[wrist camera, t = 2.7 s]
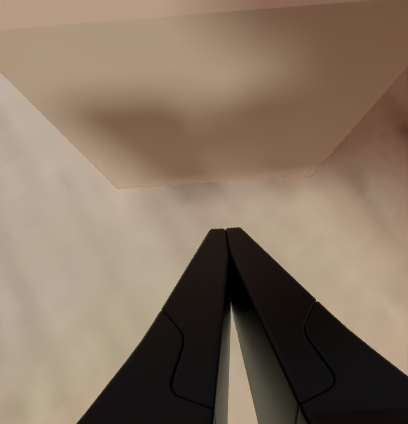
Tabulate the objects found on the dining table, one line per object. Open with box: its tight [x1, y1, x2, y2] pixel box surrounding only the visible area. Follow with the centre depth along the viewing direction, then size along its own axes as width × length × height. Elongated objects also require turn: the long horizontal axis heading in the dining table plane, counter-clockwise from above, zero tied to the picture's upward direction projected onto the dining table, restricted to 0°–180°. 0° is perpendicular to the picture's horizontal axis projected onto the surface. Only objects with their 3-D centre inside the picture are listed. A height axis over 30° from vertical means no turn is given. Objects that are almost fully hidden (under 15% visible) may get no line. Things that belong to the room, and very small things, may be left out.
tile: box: [0, 0, 408, 189], centre depth 13 cm, size 2×12×12 cm, turn 93°
